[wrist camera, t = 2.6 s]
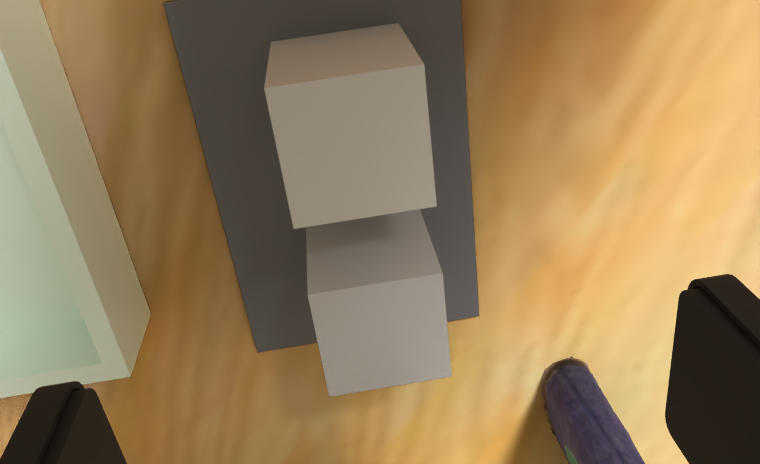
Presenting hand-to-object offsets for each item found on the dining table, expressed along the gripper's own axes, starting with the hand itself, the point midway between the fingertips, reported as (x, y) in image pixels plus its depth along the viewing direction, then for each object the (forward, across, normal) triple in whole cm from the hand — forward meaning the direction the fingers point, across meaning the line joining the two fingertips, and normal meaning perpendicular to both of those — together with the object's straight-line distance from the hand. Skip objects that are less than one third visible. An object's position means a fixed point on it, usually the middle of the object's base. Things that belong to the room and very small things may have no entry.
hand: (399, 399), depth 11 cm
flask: (+16, -10, +19) cm, 27 cm away
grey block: (+16, 0, +7) cm, 17 cm away
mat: (+16, 0, +3) cm, 17 cm away
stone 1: (+16, 0, 0) cm, 16 cm away
